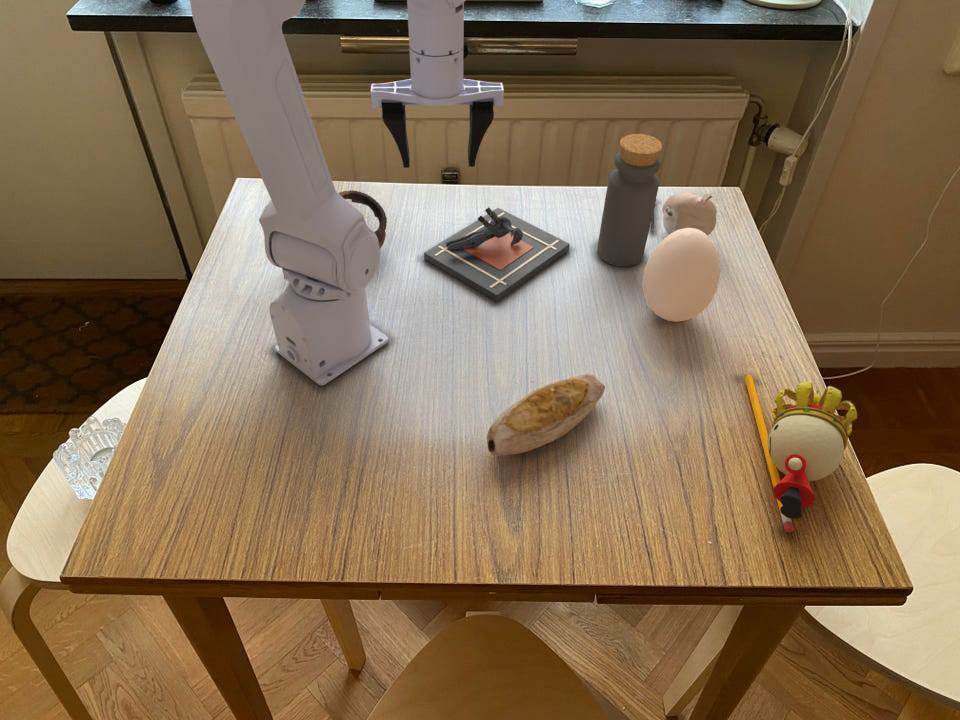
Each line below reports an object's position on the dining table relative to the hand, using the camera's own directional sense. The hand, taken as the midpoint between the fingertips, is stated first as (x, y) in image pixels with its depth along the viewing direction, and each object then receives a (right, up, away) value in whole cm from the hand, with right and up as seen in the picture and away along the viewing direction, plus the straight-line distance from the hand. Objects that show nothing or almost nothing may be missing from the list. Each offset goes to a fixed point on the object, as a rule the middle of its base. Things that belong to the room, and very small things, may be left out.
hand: (439, 163), depth 84 cm
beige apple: (+31, -7, +8) cm, 33 cm away
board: (+7, -10, +5) cm, 13 cm away
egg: (+27, -18, -3) cm, 33 cm away
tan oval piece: (+11, -30, -15) cm, 36 cm away
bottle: (+23, -10, +6) cm, 25 cm away
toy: (+31, -36, -25) cm, 54 cm away
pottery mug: (-13, -10, +5) cm, 17 cm away
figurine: (+4, -6, +2) cm, 7 cm away
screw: (+29, -4, +11) cm, 31 cm away
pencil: (+32, -32, -17) cm, 48 cm away
